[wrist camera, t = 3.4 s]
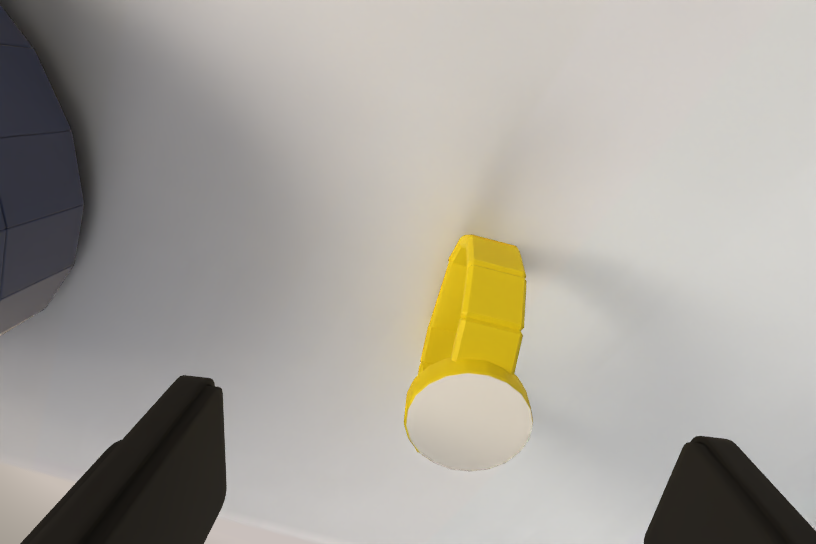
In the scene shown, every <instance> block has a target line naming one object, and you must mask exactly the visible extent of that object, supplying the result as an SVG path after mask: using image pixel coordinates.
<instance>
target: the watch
mask: <svg viewBox="0 0 816 544" xmlns="http://www.w3.org/2000/svg"><path fill="white" fill-rule="evenodd" d="M448 261H449V264H448V267H447V270H446V273H445V276H444V279H443V282H442V286H441V289H440V292H439V295H438V298H437V301H436V304H435V308H434V311H433V314H432V317H431V320H430V323H429V326H428V329H427V334H426V338H425V343H424V347H423V352H422V356H421V360H420V362H421V364H420V366H419V371H418V376H417V377H416V378H415V379H414V381H413V382H412V384H411V386H410V388H409V390H408V392H407V397H406V407H405V416H404V426H405V429H406V432H407V436H408V438H409V440H410V442H411V443H412V444H413V446H414V447H415V449H416V450H417V452H419V453H421V454H422V455H423V456H425V457H426V458H428V459H429V460H431V461H432V462H434V463H436V464H438V465H441V466H444V467H446V468H449V469H454V470H462V471H477V470H486V469H490V468H493V467H496V466H498V465H501V464H504V463H506V462H507V461H509V460H510V459H512V458H513V457H514V456H516V455H517V454H518V453H520V451H521V450H522V449H523V447H524V446H525V444H526V443H527V442H528V440H529V437H530V434H531V430H532V426H533V420H532V413H531V407H530V404H529V400H528V396H527V392H526V390H525V388H524V387H523V385H522V383H521V382H520V380H519V378H518V377H517V376H516V375H515V374H514V373H515V368H516V364H517V359H518V355H519V350H520V346H521V341H522V337H523V335H522V333H521V330H522V329H523V328H524V317H525V299H526V280H525V278H526V274H525V270H524V266H523V262H522V258H521V254H520V251H519V250H518V248H517V247H516V246H514V245H510V244H506V243H502V242H498V241H495V240H491V239H487V238H483V237H479V236H475V235H464V236H462V237H461V238H460V239H459V241H458V243H457V245H456V246H455V248H454V250H453V252H452V254H451V256H450V257H449V260H448Z"/></svg>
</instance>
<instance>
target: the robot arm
mask: <svg viewBox="0 0 816 544" xmlns="http://www.w3.org/2000/svg"><path fill="white" fill-rule="evenodd" d="M225 496H226V463H225V439H224V415H223V393H222V389H221V388H220V387H215V384H214V381H213V379H211V378H203V377H195V376H186V375H183V376H180V377H179V378H178V379H176V381H175V382H174V383H173V384H172V385H171V386H170V387H169V388H168V389H167V391H166V392H165V393H164V394H163V395H162V396H161V397H160V398H159V399H158V401H157V402H156V403H155V404H154V405H153V406H152V407H151V408H150V409H149V411H148V412H147V413H146V414H145V415H144V416H143V417H142V418H141V419H140V421H139V422H138V423H137V424H136V425H135V426H134V427H133V428H132V429H131V431H130V432H129V433H128V434H127V435H126V436H125V437H124V438H123V439H122V440H120V441H118V442H115V443H114V444H113V445H111V446H110V447H109V448H108V449H107V450H106V451H105V452H104V453H103V454H102V455H101V456H100V458H99V459H98V460H97V461H96V462H95V463H94V464H93V465H92V466H91V467H90V468H89V469H88V471H87V472H86V473H85V474H84V475H83V476H82V477H81V478H80V479H79V480H78V481H77V483H76V484H75V485H74V486H73V487H72V488H71V489H70V490H69V491H68V492H67V493H66V495H65V496H64V497H63V498H62V499H61V500H60V501H59V502H58V503H57V504H56V505H55V507H54V508H53V509H52V510H51V511H50V512H49V513H48V514H47V515H46V517H44V518H43V520H42V521H41V522H40V523H39V524H38V525H37V526H36V527H35V528H34V529H33V531H32V532H31V533H30V534H29V535H28V536H27V537H26V538H25V539H24V540H23V541H22V543H21V544H204V542H205V540H206V538H207V536H208V534H209V532H210V530H211V528H212V526H213V524H214V522H215V520H216V518H217V516H218V514H219V512H220V510H221V508H222V506H223V503H224V500H225ZM644 544H816V531H815V530H814V529H813V528H812V527H811V526H810V524H809V523H808V522H807V521H806V520H805V519H804V518H803V517H802V516H801V515H800V514H799V512H798V511H797V510H796V509H795V508H794V507H793V506H792V505H791V504H790V503H789V502H788V501H787V499H786V498H785V497H784V496H783V495H782V494H781V493H780V492H779V491H778V490H777V489H776V487H775V486H774V485H773V484H772V483H771V482H770V481H769V480H768V479H767V478H766V477H765V475H764V474H763V473H762V472H761V471H760V470H759V469H758V468H757V467H756V466H755V465H754V463H753V462H752V461H751V460H750V459H749V458H748V457H747V456H746V455H745V454H744V453H743V452H742V450H741V449H740V448H739V447H738V446H737V445H736V444H735V443H734V442H732V441H730V440H728V439H722V438H713V437H705V436H696V437H695V438H693V439H692V441H691V442H689V443H686V444H685V445H684V446H683V448H682V451H681V453H680V455H679V458H678V460H677V462H676V465H675V467H674V469H673V471H672V474H671V476H670V478H669V481H668V483H667V485H666V488H665V490H664V492H663V495H662V497H661V499H660V502H659V504H658V506H657V509H656V511H655V513H654V516H653V518H652V520H651V523H650V525H649V527H648V530H647V532H646V534H645V538H644Z"/></svg>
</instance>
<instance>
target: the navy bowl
mask: <svg viewBox="0 0 816 544" xmlns="http://www.w3.org/2000/svg"><path fill="white" fill-rule="evenodd" d="M70 130H71V128H70V125H69V123H68V121H67V119H66V117H65V114H64V112H63V110H62V108H61V106H60V104H59V101H58V99H57V97H56V95H55V93H54V90H53V88H52V86H51V84H50V82H49V80H48V77H47V75H46V73H45V71H44V69H43V66H42V64H41V62H40V60H39V58H38V55H37V53H36V51H35V49H34V48H32V45H31V44H30V43H29V41H28V40H27V39H26V37H25V36H24V35H23V33H22V32H21V31H20V30H19V28H18V27H17V26H16V24H15V23H14V22H13V20H12V19H11V18H10V17H9V15H8V14H7V13H6V11H5V10H4V9H3V7H2V6H1V5H0V336H1V335H3V334H5V333H6V332H8V331H10V330H11V329H13V328H14V327H16V326H18V325H19V324H21V323H23V322H24V321H26V320H28V319H29V318H31V317H32V316H34V315H36V314H37V313H39V312H41V311H42V310H44V308H46V307H47V306H48V304H49V303H50V301H51V299H52V298H53V296H54V295H55V293H56V292H57V290H58V289H59V287H60V286H61V284H62V283H63V281H64V280H65V278H66V277H67V275H68V273H69V272H70V270H71V269H72V267H73V266H74V263H75V258H76V252H77V246H78V240H79V234H80V228H81V222H82V216H83V210H84V205H83V204H84V199H83V193H82V187H81V181H80V175H79V169H78V163H77V157H76V151H75V145H74V139H73V133H72V131H70Z"/></svg>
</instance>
